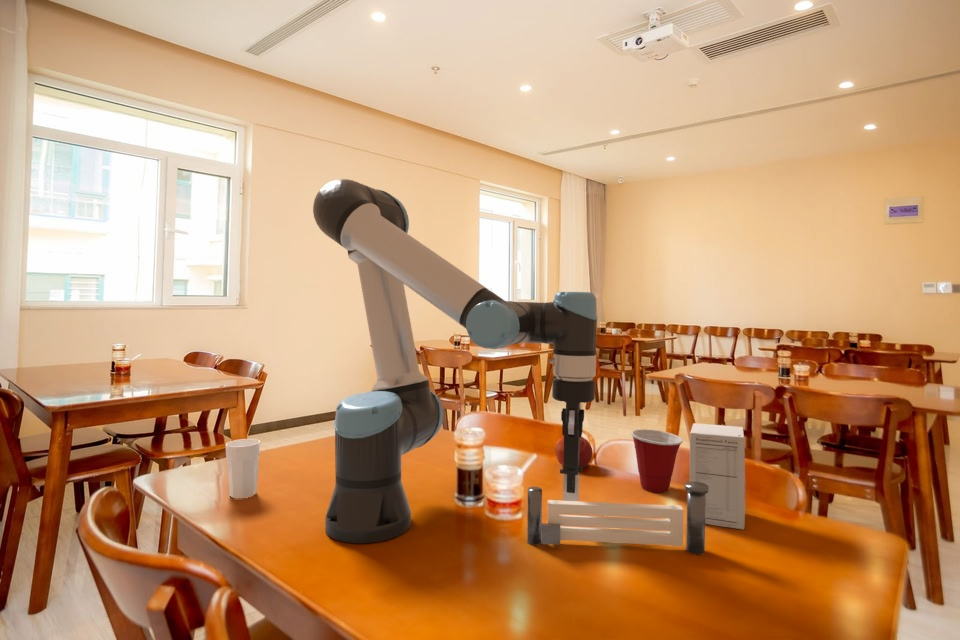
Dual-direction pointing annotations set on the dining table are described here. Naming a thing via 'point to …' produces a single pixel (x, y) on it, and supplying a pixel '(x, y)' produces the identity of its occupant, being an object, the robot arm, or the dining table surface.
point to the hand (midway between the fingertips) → (570, 507)
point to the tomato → (584, 452)
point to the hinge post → (696, 517)
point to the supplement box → (720, 472)
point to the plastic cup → (655, 458)
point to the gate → (618, 522)
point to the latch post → (539, 521)
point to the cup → (242, 467)
